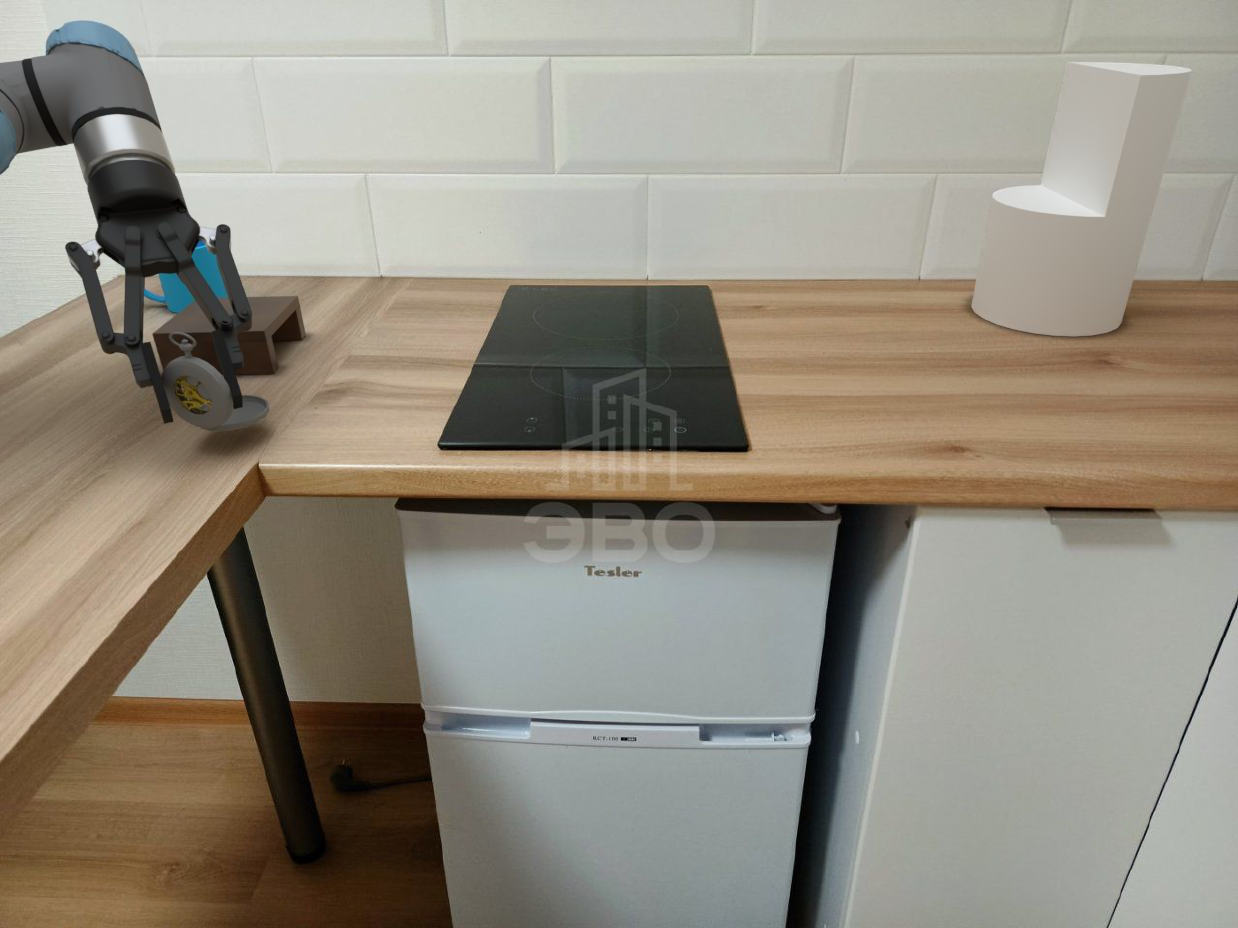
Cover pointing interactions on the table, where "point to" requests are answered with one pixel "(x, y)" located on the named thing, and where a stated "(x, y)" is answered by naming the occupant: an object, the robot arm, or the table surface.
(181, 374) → the pocket watch
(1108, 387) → the table surface
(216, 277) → the mug
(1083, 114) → the white stepped block
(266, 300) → the stand
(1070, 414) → the table surface
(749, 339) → the table surface
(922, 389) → the table surface
